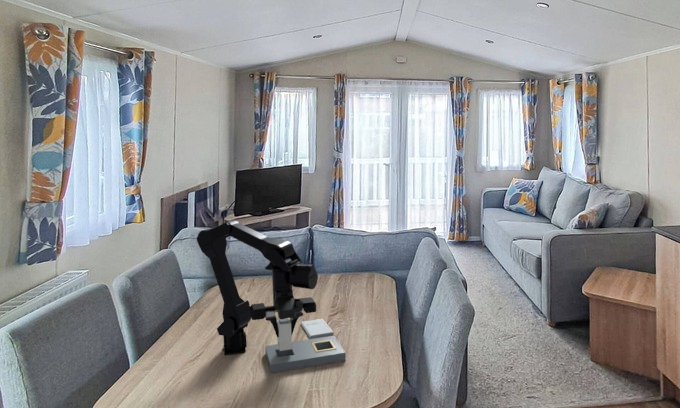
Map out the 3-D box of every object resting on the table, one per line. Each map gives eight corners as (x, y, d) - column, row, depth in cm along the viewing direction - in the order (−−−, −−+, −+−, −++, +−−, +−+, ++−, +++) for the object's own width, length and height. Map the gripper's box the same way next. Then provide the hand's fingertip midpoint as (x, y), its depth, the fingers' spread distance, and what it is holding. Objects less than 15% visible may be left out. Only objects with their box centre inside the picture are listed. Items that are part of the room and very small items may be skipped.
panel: (270, 373, 120) (270, 364, 120) (265, 353, 131) (265, 345, 131) (345, 360, 126) (345, 351, 126) (334, 343, 138) (334, 335, 137)
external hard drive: (310, 340, 141) (300, 325, 153) (333, 336, 144) (322, 322, 155) (310, 335, 141) (300, 321, 152) (333, 331, 144) (322, 318, 155)
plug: (279, 351, 124) (278, 322, 123) (277, 345, 128) (276, 318, 126) (292, 349, 125) (290, 321, 124) (289, 343, 129) (288, 316, 128)
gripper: (252, 297, 114) (255, 353, 116) (320, 289, 119) (321, 342, 121) (248, 285, 124) (251, 336, 126) (311, 278, 129) (312, 327, 132)
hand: (284, 335), depth 126 cm, fingers closed on plug, 4 cm apart
